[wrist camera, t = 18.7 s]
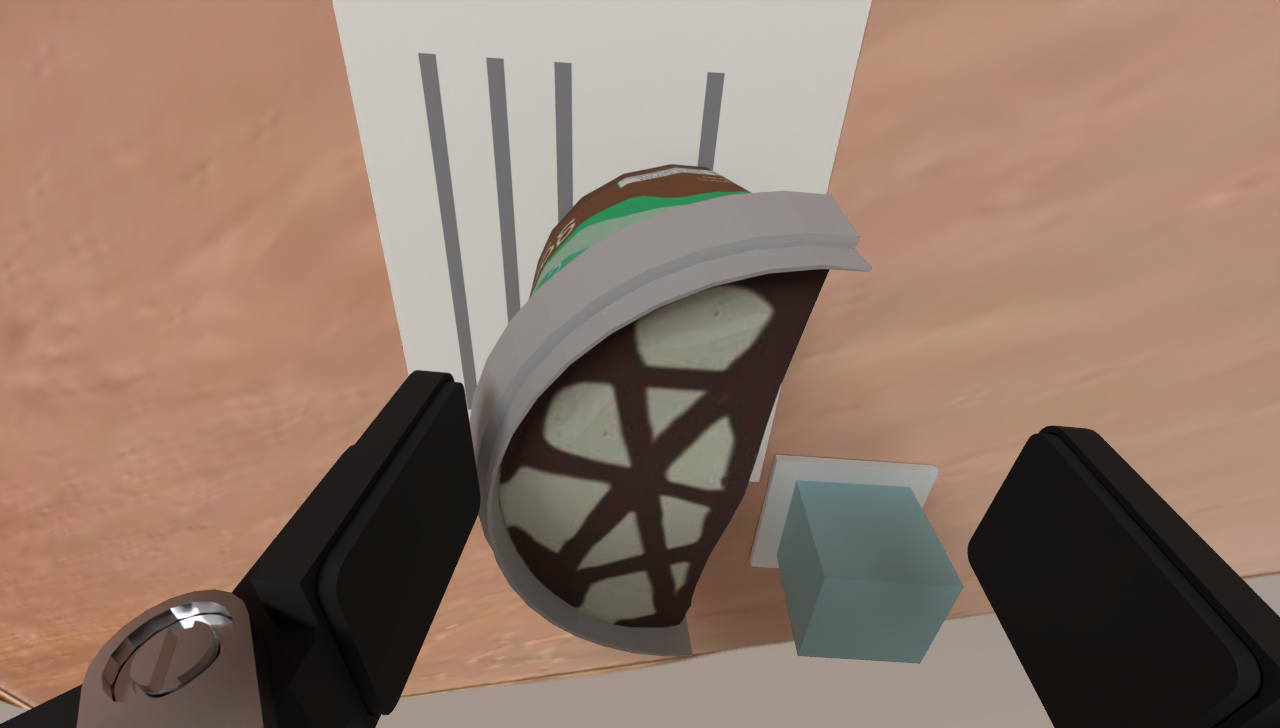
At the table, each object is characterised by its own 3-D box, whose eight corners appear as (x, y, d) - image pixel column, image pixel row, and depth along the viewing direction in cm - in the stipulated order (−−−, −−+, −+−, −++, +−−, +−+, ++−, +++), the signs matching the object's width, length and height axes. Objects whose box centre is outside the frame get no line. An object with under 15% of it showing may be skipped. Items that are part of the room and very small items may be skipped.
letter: (869, -1, 15) (872, -1, 15) (758, 479, 24) (758, 482, 24) (328, -36, 15) (324, -37, 15) (427, 456, 24) (425, 459, 24)
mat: (935, 465, 24) (939, 471, 23) (887, 569, 27) (890, 576, 27) (775, 454, 24) (776, 460, 23) (749, 559, 27) (750, 566, 27)
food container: (512, 73, 15) (464, 161, 7) (719, 117, 16) (888, 234, 8) (488, 416, 22) (448, 675, 13) (638, 427, 23) (687, 667, 15)
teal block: (910, 486, 24) (963, 586, 20) (878, 561, 26) (919, 663, 22) (796, 480, 24) (824, 577, 20) (776, 555, 26) (797, 655, 22)
